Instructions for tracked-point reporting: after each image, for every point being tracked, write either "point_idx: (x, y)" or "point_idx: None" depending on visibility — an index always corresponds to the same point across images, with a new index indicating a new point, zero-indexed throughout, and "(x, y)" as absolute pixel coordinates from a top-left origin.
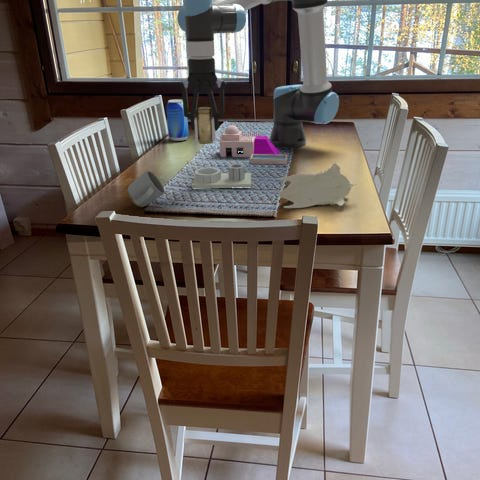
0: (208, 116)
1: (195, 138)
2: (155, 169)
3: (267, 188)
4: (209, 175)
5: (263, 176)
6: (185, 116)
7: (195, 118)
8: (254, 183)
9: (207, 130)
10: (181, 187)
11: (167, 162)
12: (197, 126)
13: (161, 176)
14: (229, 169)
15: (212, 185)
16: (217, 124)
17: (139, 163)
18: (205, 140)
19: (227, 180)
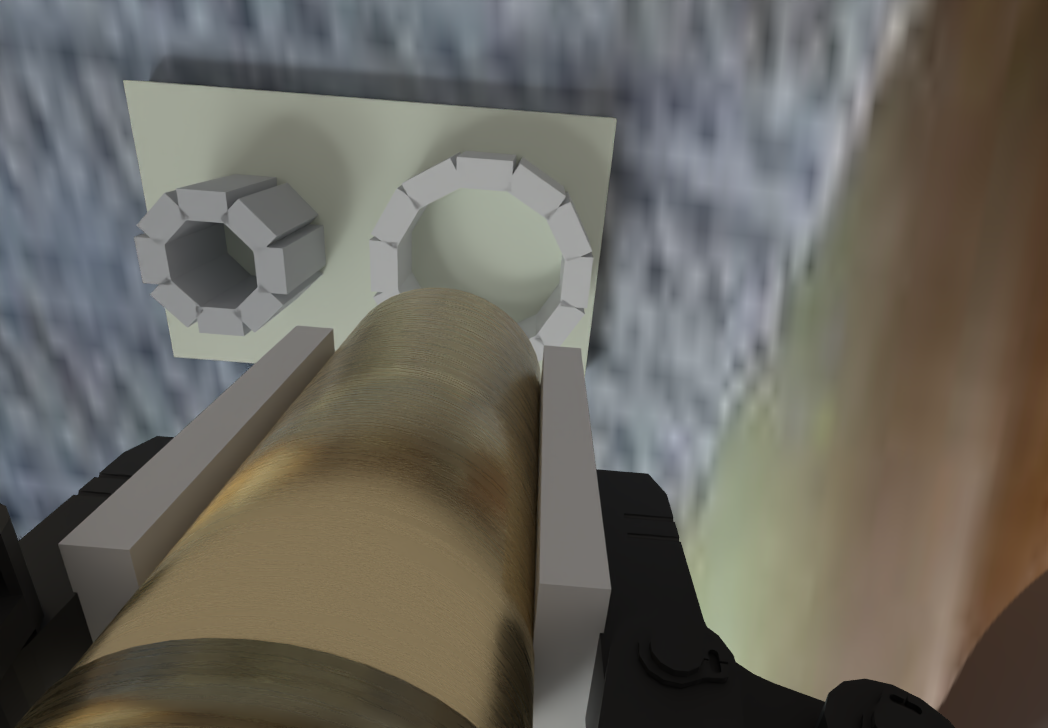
0: (140, 592)
1: (582, 365)
2: (845, 570)
3: (22, 74)
4: (459, 157)
5: (109, 349)
6: (901, 695)
7: (576, 696)
8: (145, 207)
9: (340, 377)
10: (694, 184)
11: (756, 673)
12: (537, 504)
13: (821, 439)
14: (276, 225)
15: (446, 105)
16: (96, 495)
17: (931, 679)
18: (426, 304)
19: (330, 198)
